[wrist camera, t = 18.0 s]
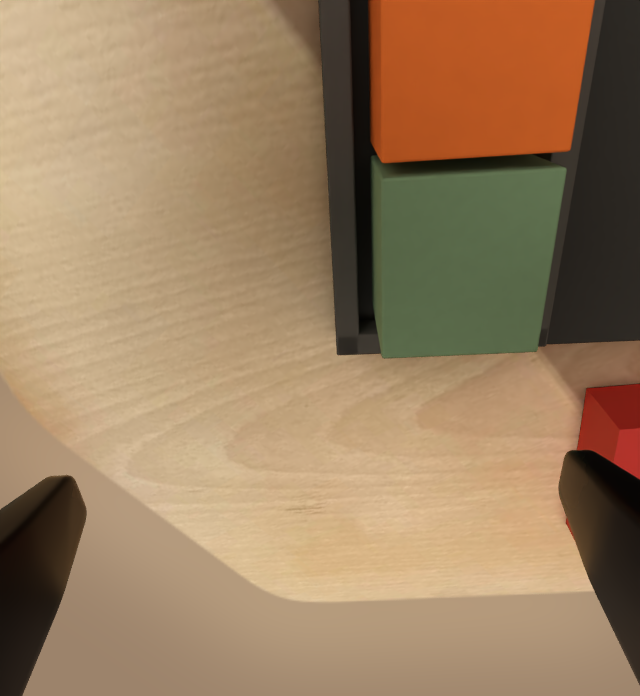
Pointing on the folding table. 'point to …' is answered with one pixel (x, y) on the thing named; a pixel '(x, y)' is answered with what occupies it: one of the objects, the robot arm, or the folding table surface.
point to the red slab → (612, 426)
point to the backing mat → (580, 162)
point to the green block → (462, 253)
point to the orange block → (474, 76)
